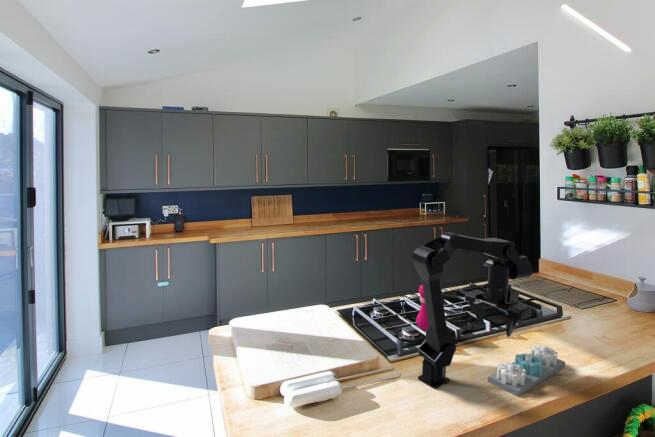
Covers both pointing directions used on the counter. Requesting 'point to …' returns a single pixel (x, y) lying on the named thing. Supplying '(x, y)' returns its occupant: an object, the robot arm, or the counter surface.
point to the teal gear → (529, 364)
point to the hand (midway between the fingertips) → (494, 330)
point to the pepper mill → (422, 312)
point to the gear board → (528, 378)
